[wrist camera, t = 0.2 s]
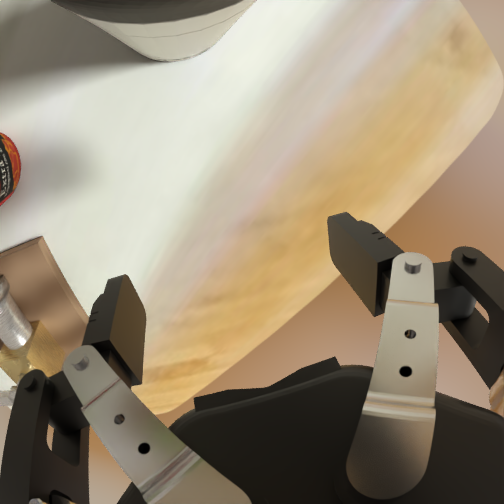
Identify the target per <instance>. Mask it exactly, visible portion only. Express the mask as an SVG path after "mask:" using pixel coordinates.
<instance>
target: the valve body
mask: <svg viewBox="0 0 504 504" xmlns="http://www.w3.org/2000/svg"><path fill="white" fill-rule="evenodd" d="M9 288H10V285H9V283H8V281H7V279H6V278H5V276H4V275H1V276H0V339H1V340H2V341H3V342H4V344H3V347H2V349H1V352H0V367H1V368H2V369H3V370H4V371H5V373H6V374H7V375H8V376H9V377H10V378H11V379H12V380H13V381H14V382H15V383H16V384H17V386H18V384H19V382H20V380H21V379H22V377H23V376H24V375H25V374H27V373H28V372H29V371H31V370H34V369H40V370H42V371H43V372H44V373H45V375H46V376H47V377H50V376H52V375H54V374H56V373H58V372H60V371H62V370H63V360H64V356H65V352H64V351H63V350H62V348H61V347H60V346H59V345H58V343H57V342H56V341H55V339H54V338H53V337H52V336H51V334H50V333H49V332H48V330H47V329H46V327H45V326H44V325H43V323H42V322H41V321H40V320H38V321H34V322H30V323H29V321H28V320H27V318H26V317H25V316H24V314H23V313H22V311H21V310H20V308H19V307H18V305H17V304H16V302H15V301H14V299H13V298H12V296H11V295H10V293H9V292H8V291H9Z"/></svg>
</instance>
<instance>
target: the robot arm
mask: <svg viewBox="0 0 504 504" xmlns="http://www.w3.org/2000/svg"><path fill="white" fill-rule="evenodd" d="M51 1H52V2H54V3H56V4H58V5H60V6H62V7H64V8H65V9H67V10H69V11H71V12H73V13H74V14H76V15H78V16H80V17H81V18H83V19H85V20H87V21H88V22H90V23H92V24H94V25H96V26H97V27H99V28H101V29H102V30H104V31H105V32H107V33H109V34H110V35H112V36H113V37H115V38H117V39H118V40H120V41H121V42H123V43H124V44H126V45H128V46H129V47H130V48H132V49H134V50H135V51H137V52H138V53H140V54H141V55H143V56H146V57H148V58H150V59H154V60H159V61H171V62H174V61H181V60H186V59H189V58H192V57H195V56H198V55H200V54H201V53H203V52H205V51H207V50H208V49H210V48H211V47H212V46H213V45H215V44H216V43H217V42H218V41H219V39H220V38H221V37H222V36H223V35H224V34H225V33H226V32H227V31H228V30H229V29H230V28H231V27H232V25H233V24H234V23H235V22H236V21H237V20H238V19H239V18H240V17H241V16H242V15H243V14H244V13H245V12H246V11H247V10H248V9H249V8H250V7H251V6H252V5H253V4H254V3H255V2H256V1H257V0H51ZM327 224H328V235H329V247H330V255H331V258H332V261H333V263H334V265H335V266H336V268H337V269H338V270H339V272H340V273H341V274H342V275H343V277H344V278H345V279H346V281H347V282H348V283H349V284H350V286H351V287H352V288H353V290H354V291H355V292H356V294H357V295H358V296H359V298H360V299H361V300H362V302H363V303H364V304H365V306H366V307H367V308H368V309H369V311H370V312H371V314H372V315H373V316H374V317H376V316H378V315H381V314H383V313H385V315H384V320H383V326H382V331H381V336H380V342H379V347H378V351H377V356H376V360H375V365H374V368H373V367H369V366H363V365H342V366H340V365H339V363H338V361H337V359H336V357H332V358H329V359H327V360H324V361H321V362H318V363H315V364H312V365H310V366H307V367H304V368H301V369H299V370H297V371H296V372H294V373H292V374H291V375H289V376H287V377H285V378H284V379H282V380H280V381H278V382H277V383H275V384H273V385H271V386H269V387H265V388H252V389H232V390H225V391H221V392H217V393H213V394H208V395H204V396H200V397H195V398H194V404H195V409H193V410H190V411H189V412H187V413H185V414H184V415H182V416H181V417H180V418H178V419H177V420H176V421H175V422H174V423H173V424H172V425H171V426H170V427H169V428H167V427H166V426H165V425H164V424H163V423H162V422H161V421H160V420H159V419H158V418H157V417H156V416H155V415H154V414H153V413H152V412H151V411H150V410H149V409H148V408H147V407H146V406H145V405H144V404H143V403H142V402H141V401H140V400H139V398H138V397H137V396H136V395H135V394H134V393H133V392H132V391H131V386H135V385H140V384H142V375H143V357H144V342H145V329H146V313H145V309H144V306H143V304H142V302H141V300H140V298H139V296H138V294H137V292H136V290H135V288H134V286H133V284H132V282H131V280H130V278H129V277H128V276H127V275H126V274H124V275H121V276H118V277H114V278H111V279H108V281H107V284H106V287H105V291H104V294H101V295H100V296H99V297H98V298H97V300H96V301H95V302H94V304H93V307H92V310H91V315H90V317H89V320H88V322H89V323H87V327H86V330H85V334H84V338H83V341H82V345H81V347H78V348H76V349H75V350H73V351H72V352H71V353H70V354H69V355H68V356H67V358H66V359H65V362H64V365H63V370H62V371H60V372H58V373H56V374H54V375H52V376H50V377H47V376H46V375H45V373H44V372H43V371H42V370H40V369H34V370H31V371H29V372H28V373H27V374H25V375H24V376H23V377H22V379H21V380H20V382H19V384H18V387H17V391H16V394H15V398H14V402H13V406H12V411H11V415H10V419H9V424H8V430H7V434H6V440H5V446H4V451H3V458H2V465H1V475H0V504H89V481H88V480H89V479H88V457H89V454H88V453H89V427H90V425H91V427H92V428H93V430H94V431H95V433H96V434H97V435H98V437H99V438H100V440H101V441H102V443H103V444H104V446H105V447H106V448H107V450H108V451H109V452H110V454H111V455H112V456H113V458H114V459H115V460H116V461H117V463H118V464H119V466H120V467H121V468H122V469H123V471H124V472H125V473H126V474H127V476H128V477H129V478H130V479H131V481H132V482H131V484H130V485H129V487H128V488H127V490H126V491H125V492H124V494H123V495H122V497H121V498H120V500H119V501H118V503H117V504H504V271H503V270H502V269H500V268H499V267H498V266H497V265H496V264H495V263H494V262H492V261H491V260H490V259H489V258H488V257H487V256H485V255H484V254H483V253H482V252H481V251H479V250H477V249H475V248H472V247H466V246H465V247H464V246H463V247H458V248H456V249H454V250H453V251H452V254H451V260H450V261H448V262H440V263H432V262H431V260H430V259H429V258H428V257H426V256H424V255H422V254H419V253H414V252H408V253H405V252H404V251H403V250H401V249H400V248H399V247H398V246H397V245H396V244H394V243H393V242H392V241H391V240H390V239H389V238H388V237H387V238H386V236H385V235H384V234H383V233H382V232H380V231H379V230H378V229H377V228H376V227H375V226H373V225H372V224H370V223H367V222H364V221H362V220H361V221H357V220H356V219H355V218H353V217H352V216H351V215H350V214H349V213H347V212H344V213H340V214H336V215H333V216H329V217H328V220H327ZM476 300H477V301H478V302H479V303H480V304H481V306H482V307H483V308H484V309H485V310H486V311H487V313H488V316H489V323H488V321H487V320H486V319H485V318H484V317H483V316H482V315H481V313H479V311H478V310H477V309H476V308H475V304H476ZM439 323H442V324H443V325H444V327H445V328H446V330H447V331H448V332H449V333H450V335H451V336H452V337H453V339H454V340H455V341H456V343H457V344H458V345H459V347H460V348H461V349H462V351H463V352H464V353H465V355H466V356H467V357H468V359H469V360H470V362H471V363H472V365H473V366H474V368H475V369H476V370H477V372H478V373H479V375H480V376H481V378H482V379H483V381H484V382H485V383H486V385H487V386H488V388H489V389H490V393H489V402H490V405H491V408H490V410H488V409H485V408H482V407H479V406H476V405H473V404H470V403H467V402H464V401H462V400H459V399H456V398H453V397H450V396H448V395H445V394H442V393H439V392H436V391H435V390H436V378H437V363H438V341H439V340H438V339H439ZM48 424H49V425H51V426H52V427H53V428H54V433H53V442H52V451H51V450H50V449H49V447H48V445H47V440H46V439H47V429H48Z"/></svg>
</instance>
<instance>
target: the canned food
mask: <svg viewBox="0 0 504 504" xmlns="http://www.w3.org/2000/svg"><path fill="white" fill-rule="evenodd" d="M20 172H21V161H20V156H19V153H18V150H17V148H16V146H15V145H14V143H13V142H12V140H11V139H10V138H9V137H7V136H6V135H5V134H2V133H0V206H1V205H2V204H3V203H4V202H5V201H6V200H7V199H8V198H10V196H11V195H12V194H13V192H14V190H15V188H16V186H17V184H18V181H19V178H20Z"/></svg>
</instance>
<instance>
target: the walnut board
mask: <svg viewBox="0 0 504 504" xmlns="http://www.w3.org/2000/svg"><path fill="white" fill-rule="evenodd" d="M1 275H4V276H5V278H6V279H7V281H8V283H9V285H10V288H9V291H8V292H9V293H10V295H11V296H12V298H13V299H14V301H15V302H16V304H17V305H18V307H19V308H20V310H21V311H22V313H23V314H24V316H25V317H26V318H27V320H28V321H29V323H30V322H34V321H38V320H40V321H41V322H42V323H43V325H44V326H45V327H46V329H47V330H48V332H49V333H50V334H51V336H52V337H53V338H54V339H55V341H56V342H57V343H58V345H59V346H60V347H61V348H62V350H63V351H64V352H65V356H64V360H63V365H64V362H65V359H66V358H67V356H68V355H69V354H70V353H71V352H72V351H73V350H75V349H76V348H78V347H81V345H82V341H83V338H84V334H85V330H86V327H87V323H89V322H88V320H89V317H88V316H87V314H86V312H85V311H84V309H83V308H82V306H81V305H80V303H79V301H78V300H77V298H76V296H75V295H74V293H73V291H72V290H71V288H70V286H69V285H68V283H67V281H66V279H65V278H64V276H63V274H62V272H61V270H60V269H59V267H58V265H57V263H56V261H55V259H54V258H53V256H52V254H51V252H50V250H49V248H48V246H47V244H46V242H45V240H44V238H43V236H42V237H39V238H36V239H34V240H31V241H29V242H26V243H24V244H22V245H19V246H17V247H14V248H12V249H10V250H7V251H5V252H3V253H0V276H1ZM3 344H4V342H3V341H2V340H1V339H0V351H1V349H2V347H3Z"/></svg>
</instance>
